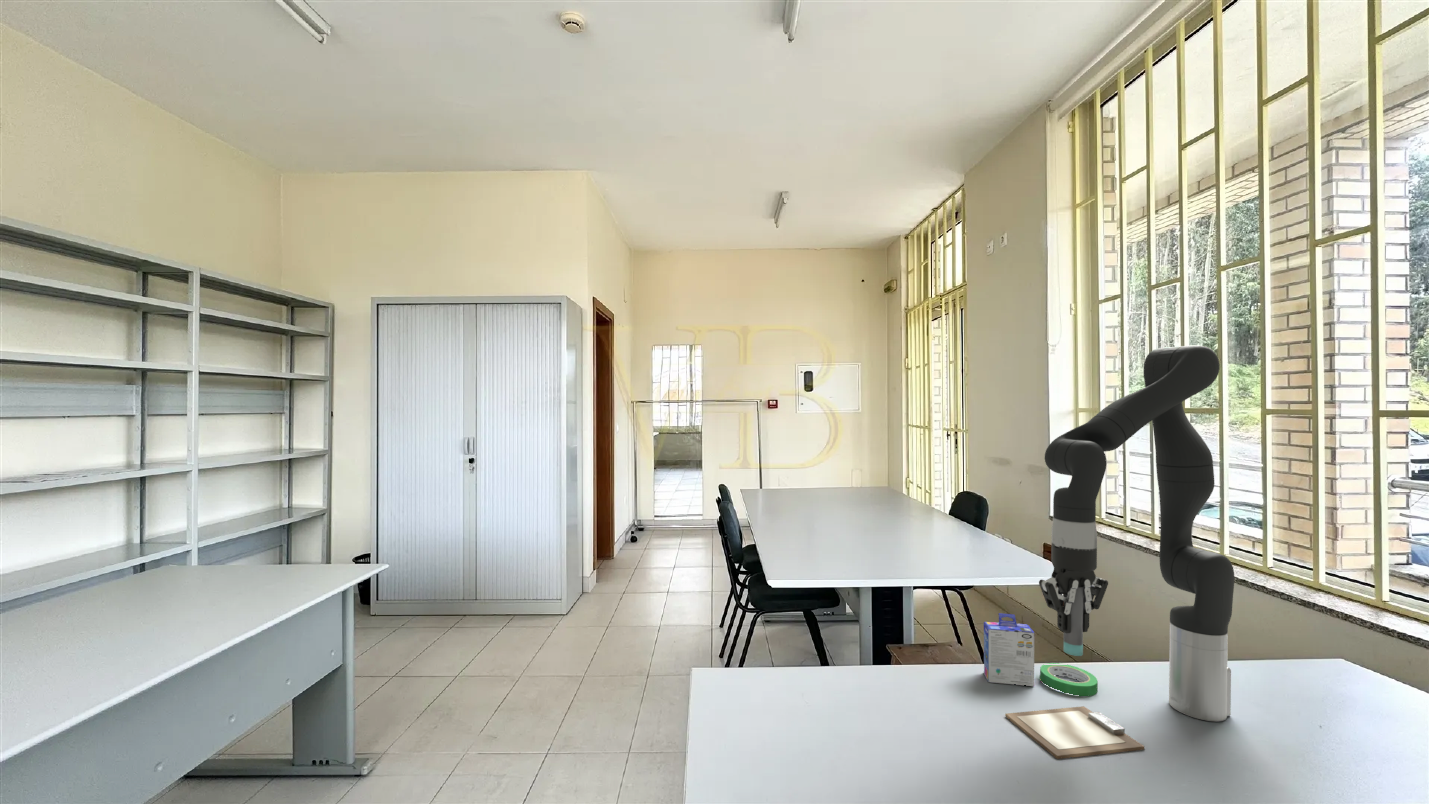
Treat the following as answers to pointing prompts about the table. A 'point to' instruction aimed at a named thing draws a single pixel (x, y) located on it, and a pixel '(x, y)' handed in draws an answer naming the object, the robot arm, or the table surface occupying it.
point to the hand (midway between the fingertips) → (1073, 630)
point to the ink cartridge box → (1008, 652)
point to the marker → (1075, 626)
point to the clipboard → (1074, 732)
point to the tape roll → (1082, 688)
